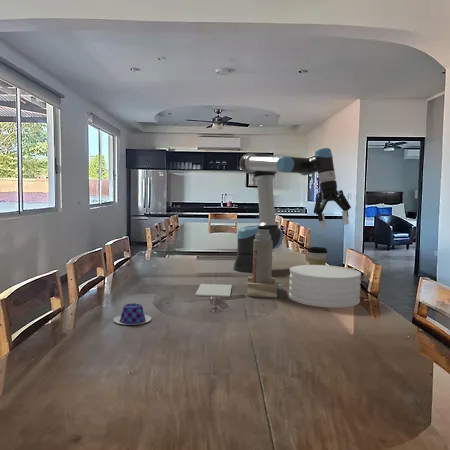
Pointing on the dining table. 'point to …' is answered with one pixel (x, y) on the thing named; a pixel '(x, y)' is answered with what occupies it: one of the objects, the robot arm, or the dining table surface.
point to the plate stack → (325, 285)
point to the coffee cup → (317, 255)
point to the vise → (265, 289)
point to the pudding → (132, 315)
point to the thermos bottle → (262, 256)
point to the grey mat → (214, 290)
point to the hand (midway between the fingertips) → (335, 226)
